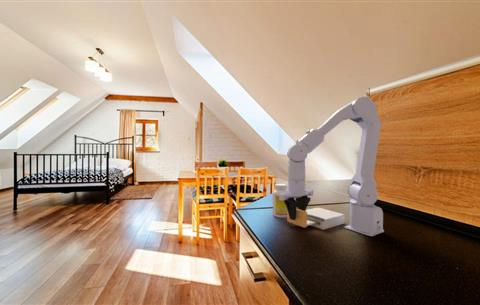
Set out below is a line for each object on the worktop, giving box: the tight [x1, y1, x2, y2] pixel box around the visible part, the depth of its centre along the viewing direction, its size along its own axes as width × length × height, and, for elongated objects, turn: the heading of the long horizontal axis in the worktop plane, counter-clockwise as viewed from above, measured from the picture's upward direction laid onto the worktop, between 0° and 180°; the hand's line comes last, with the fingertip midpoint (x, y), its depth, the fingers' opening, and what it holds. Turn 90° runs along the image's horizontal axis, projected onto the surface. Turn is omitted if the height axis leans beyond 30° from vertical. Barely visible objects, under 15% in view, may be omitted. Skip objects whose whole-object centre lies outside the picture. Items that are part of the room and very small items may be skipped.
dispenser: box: [306, 207, 346, 230], centre depth 88 cm, size 12×12×4 cm
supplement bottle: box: [272, 183, 288, 219], centre depth 96 cm, size 7×7×13 cm
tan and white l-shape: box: [286, 209, 320, 228], centre depth 86 cm, size 17×8×5 cm, turn 122°
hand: (296, 218), depth 81 cm, fingers open, 3 cm apart
